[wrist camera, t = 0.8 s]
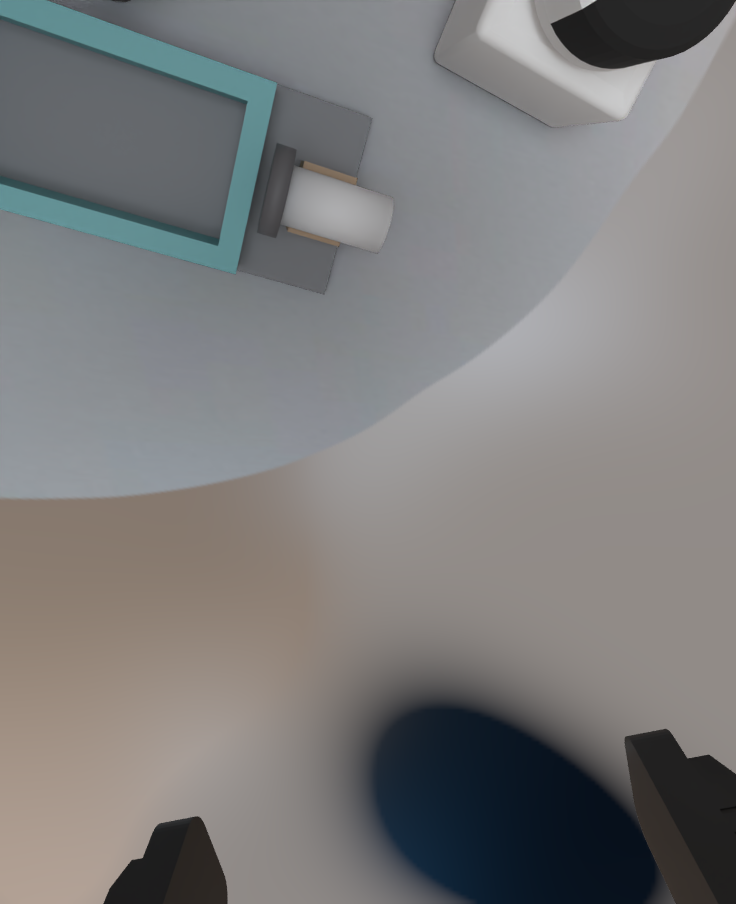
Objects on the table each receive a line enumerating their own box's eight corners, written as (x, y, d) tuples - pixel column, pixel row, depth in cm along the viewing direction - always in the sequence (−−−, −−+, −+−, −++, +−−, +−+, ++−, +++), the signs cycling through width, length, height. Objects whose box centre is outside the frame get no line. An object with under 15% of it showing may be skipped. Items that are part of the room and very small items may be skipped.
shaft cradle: (-192, 146, 28) (-321, 143, 22) (-198, -84, 25) (-350, -163, 19) (344, 296, 34) (362, 327, 28) (392, 127, 31) (424, 120, 25)
